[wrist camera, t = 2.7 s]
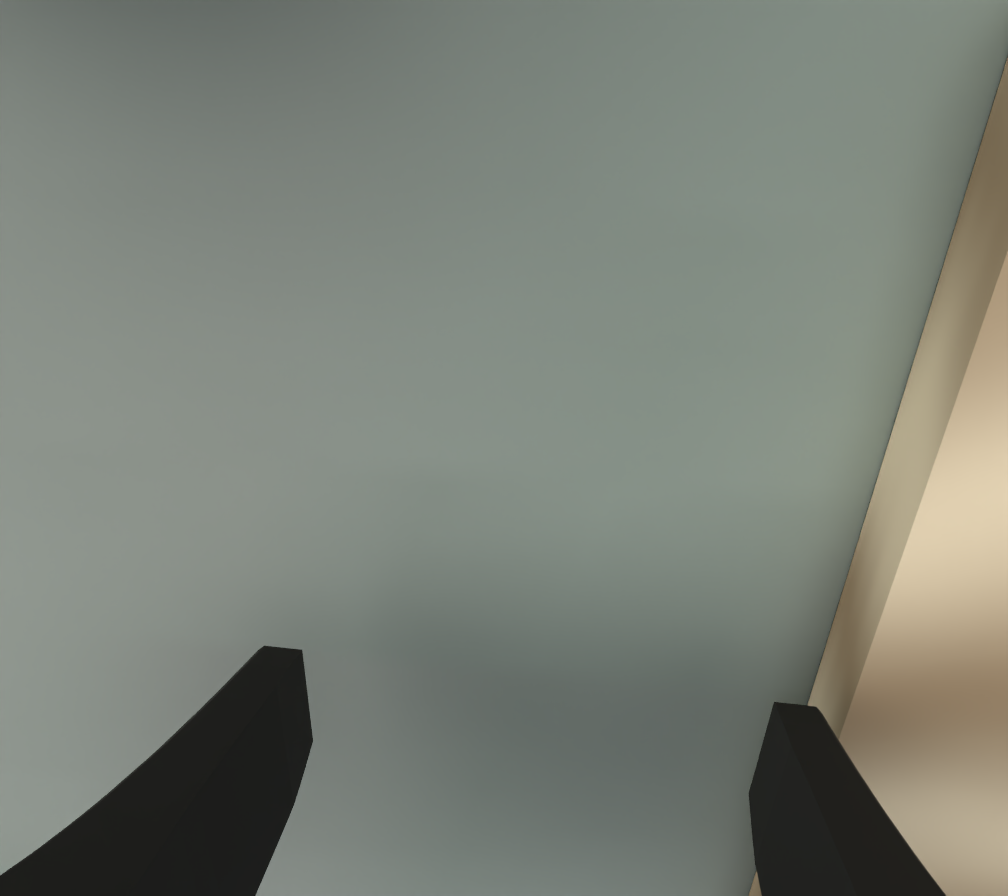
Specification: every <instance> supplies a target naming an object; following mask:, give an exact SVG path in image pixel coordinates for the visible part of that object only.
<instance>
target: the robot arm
mask: <svg viewBox="0 0 1008 896" xmlns="http://www.w3.org/2000/svg"><path fill="white" fill-rule="evenodd" d="M312 743H313V738H312V729H311V721H310V712H309V704H308V696H307V687H306V679H305V670H304V662H303V654H302V650H298V649H289V648H280V647H271V646H263V647H262V648H261V649H260V650H258V651H257V652H256V653H255V654H254V655H253V656H252V657H251V658H250V659H249V660H248V661H247V662H246V663H245V664H244V665H243V667H242V668H241V669H240V670H239V671H238V672H237V673H236V674H235V675H234V676H233V677H232V678H231V679H230V680H229V681H228V682H227V683H226V684H225V685H224V686H223V687H222V688H221V689H220V690H219V691H218V692H217V693H216V694H215V695H214V696H213V697H212V698H211V699H210V700H209V701H208V702H207V703H206V704H205V705H204V706H203V707H202V708H201V709H200V710H199V711H198V712H197V713H196V714H195V715H194V716H193V717H192V718H191V719H190V720H188V721H187V722H186V723H185V724H184V725H183V726H182V727H181V728H180V729H179V730H178V731H177V732H176V733H175V734H174V735H173V736H172V737H171V738H170V739H168V740H167V741H166V742H165V743H164V744H163V745H162V746H161V747H160V748H159V749H158V750H157V751H156V752H155V753H154V754H152V755H151V756H150V757H149V758H148V759H147V760H146V761H145V762H143V763H142V764H141V765H140V766H139V767H138V768H137V769H135V770H134V771H133V772H132V773H131V774H130V775H129V776H127V777H126V778H125V779H124V780H123V781H122V782H121V783H119V784H118V785H117V786H116V787H115V788H114V789H112V790H111V791H110V792H109V793H108V794H107V795H106V796H104V797H103V798H102V799H101V800H100V801H98V802H97V803H96V804H95V805H93V806H92V807H91V808H90V809H89V810H87V811H86V812H85V813H84V814H82V815H81V816H80V817H79V818H77V819H76V820H75V821H74V822H72V823H71V824H70V825H69V826H67V827H66V828H65V829H63V830H62V831H61V832H59V833H58V834H57V835H55V836H54V837H53V838H52V839H50V840H49V841H48V842H46V843H45V844H44V845H42V846H41V847H40V848H38V849H37V850H36V851H34V852H33V853H32V854H30V855H29V856H27V857H26V858H24V859H23V860H22V861H20V862H19V863H17V864H16V865H14V866H13V867H12V868H10V869H9V870H7V871H6V872H5V873H3V874H2V875H0V896H255V895H256V893H257V890H258V888H259V886H260V883H261V881H262V879H263V876H264V874H265V872H266V869H267V867H268V865H269V863H270V860H271V858H272V856H273V853H274V851H275V849H276V846H277V844H278V841H279V839H280V837H281V834H282V832H283V830H284V827H285V825H286V823H287V820H288V818H289V815H290V813H291V811H292V808H293V806H294V803H295V800H296V796H297V793H298V790H299V787H300V784H301V780H302V777H303V774H304V770H305V767H306V763H307V760H308V756H309V753H310V749H311V746H312ZM749 801H750V813H751V825H752V836H753V846H754V856H755V865H756V870H757V875H758V880H759V885H760V890H761V895H762V896H946V894H945V893H944V892H943V891H942V889H941V888H940V887H939V885H938V884H937V883H936V881H935V880H934V879H933V878H932V876H931V875H930V874H929V872H928V871H927V869H926V868H925V867H924V865H923V864H922V863H921V861H920V860H919V859H918V857H917V856H916V855H915V853H914V852H913V850H912V849H911V848H910V846H909V845H908V843H907V842H906V840H905V839H904V838H903V836H902V835H901V833H900V832H899V831H898V829H897V828H896V826H895V825H894V823H893V822H892V821H891V819H890V818H889V816H888V815H887V813H886V812H885V811H884V809H883V808H882V806H881V805H880V803H879V802H878V800H877V799H876V797H875V796H874V794H873V793H872V791H871V790H870V788H869V787H868V785H867V784H866V782H865V781H864V779H863V778H862V776H861V774H860V773H859V771H858V770H857V768H856V767H855V765H854V764H853V762H852V760H851V759H850V757H849V756H848V754H847V753H846V751H845V749H844V748H843V746H842V745H841V743H840V741H839V740H838V738H837V737H836V735H835V733H834V732H833V730H832V729H831V727H830V725H829V724H828V722H827V720H826V719H825V717H824V716H823V714H822V713H821V711H820V710H819V709H818V708H817V707H815V706H806V705H797V704H788V703H779V702H774V705H773V708H772V712H771V715H770V719H769V723H768V726H767V730H766V733H765V737H764V741H763V744H762V748H761V751H760V755H759V759H758V762H757V766H756V769H755V773H754V776H753V780H752V784H751V787H750V791H749Z"/></svg>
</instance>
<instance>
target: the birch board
mask: <svg viewBox="0 0 1008 896" xmlns="http://www.w3.org/2000/svg"><path fill="white" fill-rule="evenodd" d="M807 706H815V707H817V708H818V709H819V710H820V711H821V713H822V714H823V716H824V717H825V719H826V720H827V722H828V724H829V725H830V727H831V729H832V730H833V732H834V733H835V735H836V737H837V738H838V740H839V741H840V743H841V745H842V746H843V748H844V749H845V751H846V753H847V754H848V756H849V757H850V759H851V760H852V762H853V764H854V765H855V767H856V768H857V770H858V771H859V773H860V774H861V776H862V778H863V779H864V781H865V782H866V784H867V785H868V787H869V788H870V790H871V791H872V793H873V794H874V796H875V797H876V799H877V800H878V802H879V803H880V805H881V806H882V808H883V809H884V811H885V812H886V813H887V815H888V816H889V818H890V819H891V821H892V822H893V823H894V825H895V826H896V828H897V829H898V831H899V832H900V833H901V835H902V836H903V838H904V839H905V840H906V842H907V843H908V845H909V846H910V848H911V849H912V850H913V852H914V853H915V855H916V856H917V857H918V859H919V860H920V861H921V863H922V864H923V865H924V867H925V868H926V869H927V871H928V872H929V874H930V875H931V876H932V878H933V879H934V880H935V881H936V883H937V884H938V885H939V887H940V888H941V889H942V891H943V892H944V893H945V894H946V896H1008V58H1007V61H1006V64H1005V68H1004V71H1003V74H1002V77H1001V80H1000V84H999V87H998V90H997V93H996V97H995V100H994V103H993V106H992V110H991V113H990V116H989V119H988V123H987V126H986V129H985V132H984V135H983V139H982V142H981V145H980V148H979V152H978V155H977V158H976V161H975V165H974V168H973V171H972V174H971V178H970V181H969V184H968V187H967V191H966V194H965V197H964V200H963V203H962V207H961V210H960V213H959V216H958V220H957V223H956V226H955V229H954V233H953V236H952V239H951V242H950V246H949V249H948V252H947V255H946V258H945V262H944V265H943V268H942V271H941V275H940V278H939V281H938V284H937V288H936V291H935V294H934V297H933V301H932V304H931V307H930V310H929V314H928V317H927V320H926V323H925V326H924V330H923V333H922V336H921V339H920V343H919V346H918V349H917V352H916V356H915V359H914V362H913V365H912V369H911V372H910V375H909V378H908V381H907V385H906V388H905V391H904V394H903V398H902V401H901V404H900V407H899V411H898V414H897V417H896V420H895V424H894V427H893V430H892V433H891V436H890V440H889V443H888V446H887V449H886V453H885V456H884V459H883V462H882V466H881V469H880V472H879V475H878V479H877V482H876V485H875V488H874V492H873V495H872V498H871V501H870V504H869V508H868V511H867V514H866V517H865V521H864V524H863V527H862V530H861V534H860V537H859V540H858V543H857V547H856V550H855V553H854V556H853V559H852V563H851V566H850V569H849V572H848V576H847V579H846V582H845V585H844V589H843V592H842V595H841V598H840V602H839V605H838V608H837V611H836V615H835V618H834V621H833V624H832V627H831V631H830V634H829V637H828V640H827V644H826V647H825V650H824V653H823V657H822V660H821V663H820V666H819V670H818V673H817V676H816V679H815V682H814V686H813V689H812V692H811V695H810V699H809V702H808V705H807ZM749 896H762V895H761V890H760V885H759V880H758V875H757V870H756V873H755V877H754V880H753V883H752V886H751V890H750V893H749Z"/></svg>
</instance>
